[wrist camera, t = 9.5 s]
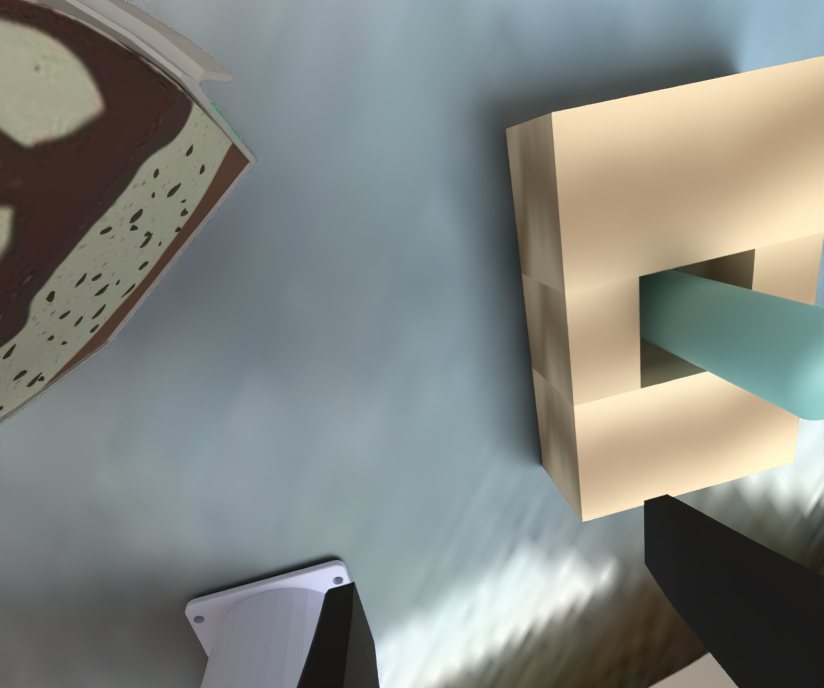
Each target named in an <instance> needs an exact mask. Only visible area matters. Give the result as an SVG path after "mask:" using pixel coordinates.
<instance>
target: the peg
mask: <svg viewBox="0 0 824 688" xmlns="http://www.w3.org/2000/svg"><path fill="white" fill-rule="evenodd" d="M639 313H640V338H642V339H644V340H646V341H648V342H650V343H652V344H654V345H656V346H658V347H660V348H662V349H664V350H666V351H668V352H670V353H672V354H674V355H676V356H678V357H680V358H682V359H684V360H686V361H688V362H690V363H692V364H694V365H696V366H698V367H700V368H702V369H704V370H706V371H708V372H710V373H712V374H714V375H716V376H718V377H720V378H722V379H724V380H726V381H728V382H730V383H732V384H734V385H736V386H738V387H740V388H742V389H744V390H746V391H748V392H750V393H752V394H754V395H756V396H758V397H760V398H762V399H764V400H766V401H768V402H770V403H772V404H774V405H776V406H778V407H780V408H782V409H784V410H786V411H788V412H790V413H792V414H794V415H796V416H798V417H800V418H803V419H806V420H822V419H824V308H822V307H818V306H814V305H810V304H806V303H802V302H798V301H794V300H790V299H786V298H782V297H778V296H774V295H770V294H766V293H762V292H758V291H754V290H750V289H746V288H742V287H738V286H734V285H730V284H726V283H722V282H718V281H714V280H710V279H706V278H702V277H698V276H694V275H690V274H686V273H682V272H678V271H674V270H670V269H668V270H664V271H660V272H656V273H652V274H647V275H643V276H639Z"/></svg>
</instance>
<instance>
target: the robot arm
mask: <svg viewBox="0 0 824 688" xmlns="http://www.w3.org/2000/svg"><path fill="white" fill-rule="evenodd" d="M644 539H645V564H646V566H647V567H648V569H649V571H650V572H651V574H652V575H653V577H654V579H655V580H656V582H657V583H658V585H659V586H660V588H661V589H662V591H663V592H664V594H665V595H666V597H667V598H668V600H669V601H670V603H671V604H672V606H673V607H674V608H675V610H676V611H677V612H678V613H679V615H680V616H681V617H682V619H683V620H684V621H685V622H686V623H687V625H688V626H689V627H690V628H691V630H692V631H693V632H694V633H695V635H696V636H697V637H698V638H699V640H700V641H701V642H702V643H703V645H704V646H705V647H706V648H707V649H708V651H709V652H710V653H711V654H712V655H713V657H714V658H715V659H716V661H717V662H718V663H719V664H720V665H721V667H722V668H723V669H724V670H725V671H726V673H727V674H728V675H729V676H730V677H731V679H732V680H733V681H734V683H735V684H736V685H737V686H738V687H739V688H824V576H823V575H821V574H819V573H817V572H815V571H812V570H810V569H808V568H806V567H804V566H802V565H800V564H798V563H796V562H794V561H792V560H790V559H788V558H786V557H784V556H782V555H780V554H778V553H776V552H774V551H772V550H770V549H768V548H766V547H765V546H763V545H761V544H759V543H757V542H755V541H753V540H751V539H749V538H748V537H746V536H744V535H742V534H740V533H738V532H736V531H734V530H733V529H731V528H729V527H727V526H725V525H723V524H722V523H720V522H718V521H716V520H714V519H712V518H711V517H709V516H707V515H705V514H703V513H702V512H700V511H698V510H696V509H694V508H692V507H691V506H689V505H687V504H685V503H683V502H681V501H680V500H678V499H676V498H674V497H672V496H670V495H668V494H666V495H662V496H659V497H655V498H652V499H648V500H644ZM335 577H341V578H335ZM185 615H186V616H187V618H188V620H189V622H190V624H191V626H192V628H193V629H194V631H195V633H196V635H197V637H198V639H199V641H200V642H201V644H202V646H203V648H204V650H205V652H206V654H207V656H208V657H209V659H208V663H207V666H206V670H205V674H204V677H203V681H202V684H201V688H380V687H379V685H381V683H382V673H381V670H380V667H379V664H378V661H377V658H376V652H375V644H374V640H373V637H372V634H371V631H370V628H369V625H368V622H367V619H366V616H365V613H364V610H363V607H362V604H361V601H360V598H359V595H358V592H357V589H356V586H355V583H354V582H352V583H351V581H350V578H349V575H348V572H347V569H346V566H345V564H344V563H343V562H342V561H339V560H334V561H330V562H326V563H323V564H319V565H315V566H312V567H308V568H304V569H301V570H297V571H294V572H290V573H286V574H283V575H279V576H275V577H272V578H268V579H265V580H261V581H257V582H254V583H250V584H247V585H243V586H239V587H236V588H232V589H228V590H225V591H221V592H218V593H214V594H210V595H207V596H203V597H199V598H196V599H193V600H191V601H189V602H188V604H187V606H186V609H185Z"/></svg>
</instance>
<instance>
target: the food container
mask: <svg viewBox="0 0 824 688" xmlns="http://www.w3.org/2000/svg"><path fill="white" fill-rule="evenodd" d="M233 77H234V76H233V75H232V74H231V73H230V72H229V71H227V70H226V69H225V68H224V67H222V66H221V65H220V64H219V63H217V62H216V61H215V60H214V59H213V58H211V57H210V56H209V55H208V54H206V53H205V52H204V51H203V50H201V49H200V48H199V47H198V46H196V45H195V44H194V43H193V42H192V41H190V40H189V39H187V38H186V37H184V36H182V35H181V34H179V33H178V32H176V31H174V30H173V29H171V28H170V27H168V26H166V25H165V24H163V23H161V22H160V21H158V20H157V19H155V18H153V17H152V16H150V15H149V14H147V13H145V12H144V11H142V10H140V9H139V8H137V7H136V6H133V5H131V4H129V3H127V2H124V1H122V0H0V425H1V424H3V423H4V422H6V421H7V420H8V419H10V418H11V417H12V416H14V415H15V414H16V413H18V412H19V411H20V410H22V409H23V408H24V407H26V406H27V405H28V404H30V403H31V402H32V401H34V400H35V399H37V398H38V397H39V396H41V395H42V394H43V393H45V392H46V391H47V390H49V389H50V388H51V387H53V386H54V385H55V384H57V383H58V382H59V381H61V380H62V379H64V378H65V377H66V376H68V375H69V374H70V373H72V372H73V371H74V370H76V369H77V368H78V367H80V366H81V365H82V364H84V363H85V362H86V361H88V360H89V359H90V358H92V357H93V356H95V355H96V354H97V353H99V352H100V351H101V350H103V349H104V348H105V347H107V346H108V345H109V344H110V343H111V342H112V341H113V339H114V338H115V337H116V336H117V334H118V333H119V332H120V331H121V329H122V328H123V327H124V326H125V325H126V323H127V322H128V321H129V320H130V318H131V317H132V316H133V315H134V313H135V312H136V311H137V310H138V308H139V307H140V306H141V305H142V303H143V302H144V301H145V300H146V298H147V297H148V296H149V295H150V293H151V292H152V291H153V290H154V288H155V287H156V286H157V285H158V283H159V282H160V281H161V280H162V278H163V277H164V276H165V275H166V273H167V272H168V271H169V270H170V268H171V267H172V266H173V265H174V263H175V262H176V261H177V260H178V259H179V257H180V256H181V255H182V254H183V252H184V251H185V250H186V249H187V247H188V246H189V245H190V244H191V242H192V241H193V240H194V239H195V237H196V236H197V235H198V234H199V232H200V231H201V230H202V229H203V227H204V226H205V225H206V224H207V222H208V221H209V220H210V219H211V217H212V216H213V215H214V214H215V212H216V211H217V210H218V209H219V207H220V206H221V205H222V204H223V202H224V201H225V200H226V199H227V197H228V196H229V195H230V194H231V193H232V191H233V190H234V189H235V188H236V186H237V185H238V184H239V183H240V181H241V180H242V179H243V178H244V176H245V175H246V174H247V173H248V171H249V170H250V169H251V168H252V166H253V165H254V164H255V163H256V161H257V159H256V158H255V157H254V155H253V154H252V153H251V152H250V150H249V149H248V148H247V146H246V145H245V144H244V143H243V141H242V140H241V139H240V138H239V136H238V135H237V134H236V132H235V131H234V130H233V129H232V127H231V126H230V125H229V123H228V122H227V121H226V120H225V118H224V117H223V116H222V115H221V113H220V112H219V111H218V109H217V108H216V107H215V106H214V104H213V103H212V102H211V100H210V99H209V98H208V97H207V95H206V94H205V93H204V92H203V90H202V89H201V88H200V86H199V84H200V83H201V81H202V80H203V79H204V80H211V81H218V82H225V83H230V82H231V80H232V79H233Z"/></svg>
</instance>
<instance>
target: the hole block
mask: <svg viewBox="0 0 824 688" xmlns="http://www.w3.org/2000/svg"><path fill="white" fill-rule="evenodd" d="M506 138H507V147H508V156H509V165H510V174H511V183H512V192H513V201H514V210H515V219H516V228H517V237H518V246H519V255H520V264H521V273H522V282H523V291H524V300H525V309H526V318H527V327H528V336H529V345H530V354H531V363H532V372H533V381H534V390H535V399H536V408H537V417H538V426H539V435H540V444H541V453H542V463H543V468H544V469H545V471H546V472H547V473H548V475H549V476H550V478H551V479H552V480H553V482H554V483H555V484H556V486H557V487H558V489H559V490H560V491H561V493H562V494H563V495H564V497H565V498H566V500H567V501H568V502H569V504H570V505H571V507H572V508H573V509H574V511H575V512H576V513H577V515H578V516H579V518H580V519H581V520H582V522H584V521H588V520H591V519H595V518H598V517H602V516H606V515H609V514H613V513H616V512H620V511H623V510H627V509H630V508H634V507H638V506H641V505H644V500H648V499H652V498H655V497H659V496H662V495H666V494H668V495H670V496H672V497H673V496H677V495H680V494H684V493H687V492H691V491H694V490H698V489H702V488H705V487H709V486H712V485H716V484H719V483H723V482H726V481H730V480H734V479H737V478H741V477H744V476H748V475H751V474H755V473H758V472H762V471H766V470H769V469H773V468H776V467H780V466H783V465H787V464H790V463H794V455H795V448H796V440H797V433H798V425H799V418H800V417H798V416H796V415H794V414H792V413H790V412H788V411H786V410H784V409H782V408H780V407H778V406H776V405H774V404H772V403H770V402H768V401H766V400H764V399H762V398H760V397H758V396H756V395H754V394H752V393H750V392H748V391H746V390H744V389H742V388H740V387H738V386H736V385H734V384H732V383H730V382H728V381H726V380H724V379H722V378H720V377H718V376H716V375H714V374H712V373H710V372H708V371H706V370H704V369H702V368H700V367H698V366H696V365H694V364H692V363H690V362H688V361H686V360H684V359H682V358H680V357H678V356H676V355H674V354H672V353H670V352H668V351H666V350H664V349H662V348H660V347H658V346H656V345H654V344H652V343H650V342H648V341H646V340H644V339H641V340H640V313H639V276H643V275H647V274H652V273H656V272H660V271H664V270H668V269H672V268H676V271H678V272H682V273H686V274H690V275H694V276H698V277H702V278H706V279H710V280H714V281H718V282H722V283H726V284H730V285H734V286H738V287H742V288H746V289H750V290H754V291H758V292H762V293H766V294H770V295H774V296H778V297H782V298H786V299H790V300H794V301H798V302H802V303H806V304H810V305H815V298H816V290H817V283H818V275H819V268H820V260H821V253H822V245H823V238H824V56H821V57H816V58H812V59H807V60H802V61H797V62H792V63H787V64H783V65H778V66H773V67H768V68H763V69H759V70H754V71H749V72H744V73H739V74H735V75H730V76H725V77H720V78H715V79H710V80H706V81H701V82H696V83H691V84H686V85H682V86H677V87H672V88H667V89H662V90H658V91H653V92H648V93H643V94H638V95H633V96H629V97H624V98H619V99H614V100H609V101H605V102H600V103H595V104H590V105H585V106H581V107H576V108H571V109H566V110H561V111H556V112H552V113H549V114H546V115H543V116H540V117H538V118H535V119H532V120H529V121H526V122H523V123H521V124H518V125H515V126H512V127H509V128H507V129H506Z"/></svg>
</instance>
